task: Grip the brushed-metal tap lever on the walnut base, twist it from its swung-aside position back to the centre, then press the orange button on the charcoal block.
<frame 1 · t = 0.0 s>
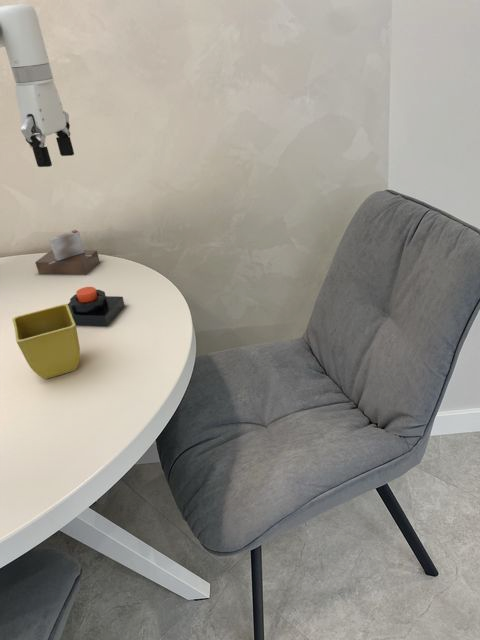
hand: (56, 160, 121), 23 cm above the table, tool pointing down, fingers open, 9 cm apart
flower pot: (59, 369, 90), on the table
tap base: (69, 268, 127), on the table
button block: (92, 315, 105), on the table
tap lever: (67, 245, 124), point 6 cm above the table, hinge at 50.0°
button: (87, 294, 103), point 4 cm above the table, slide at 0.1 cm
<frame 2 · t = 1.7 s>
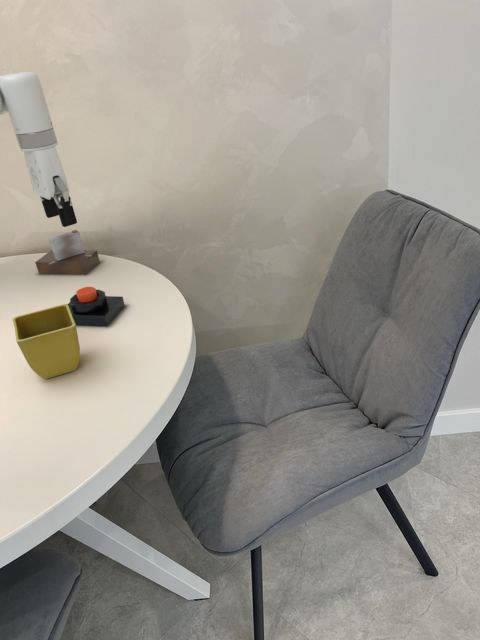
hand: (61, 220, 121), 11 cm above the table, tool pointing down, fingers open, 9 cm apart
nothing on the table moved.
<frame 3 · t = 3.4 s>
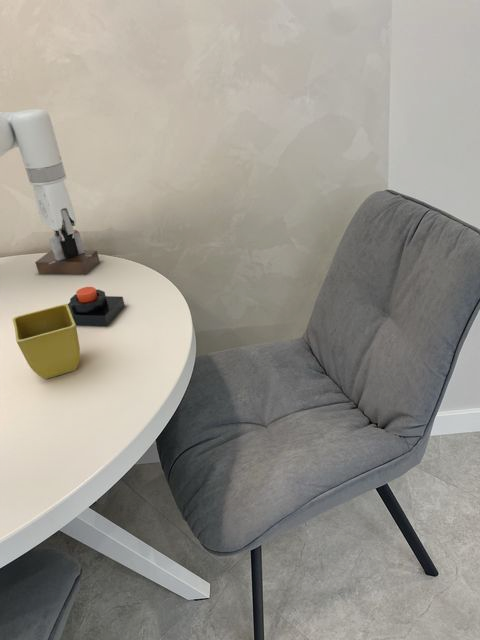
hand: (69, 254, 125), 3 cm above the table, tool pointing down, fingers closed on tap lever
tap lever: (67, 245, 124), point 6 cm above the table, hinge at 50.0°, touching gripper
everything else where it was.
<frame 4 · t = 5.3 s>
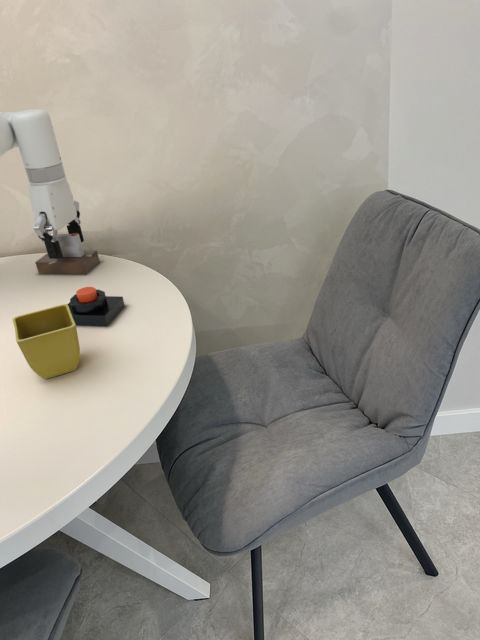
hand: (67, 249, 125), 5 cm above the table, tool pointing down, fingers open, 9 cm apart
tap lever: (67, 245, 124), point 6 cm above the table, hinge at 0.0°
everything else where it was.
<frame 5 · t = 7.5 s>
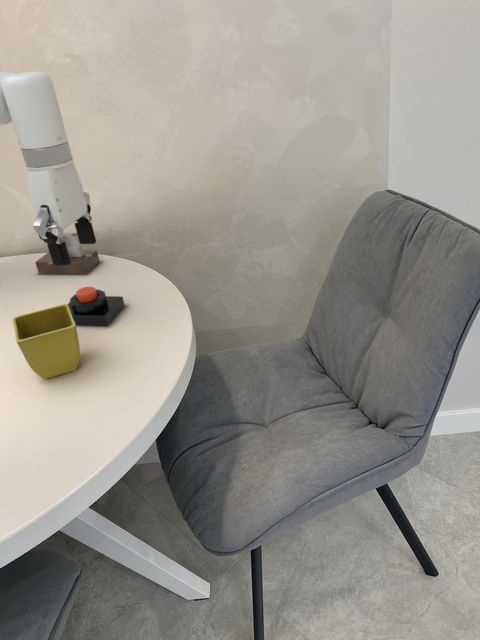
hand: (75, 253, 99), 13 cm above the table, tool pointing down, fingers open, 9 cm apart
nothing on the table moved.
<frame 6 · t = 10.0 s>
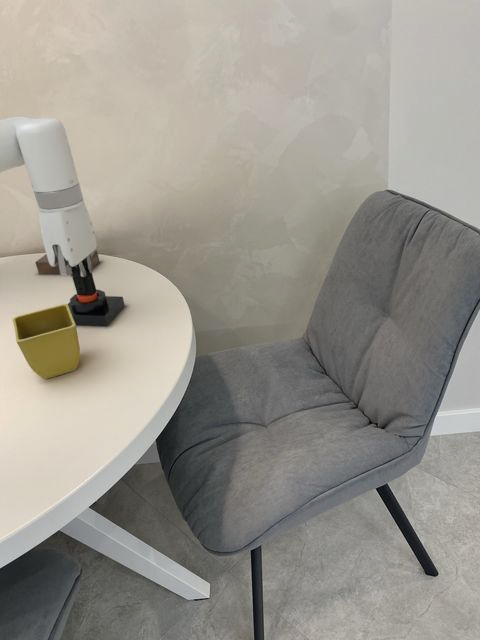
hand: (87, 293, 103), 5 cm above the table, tool pointing down, fingers closed
button: (87, 297, 103), point 4 cm above the table, slide at -0.5 cm, touching gripper
everything else where it was.
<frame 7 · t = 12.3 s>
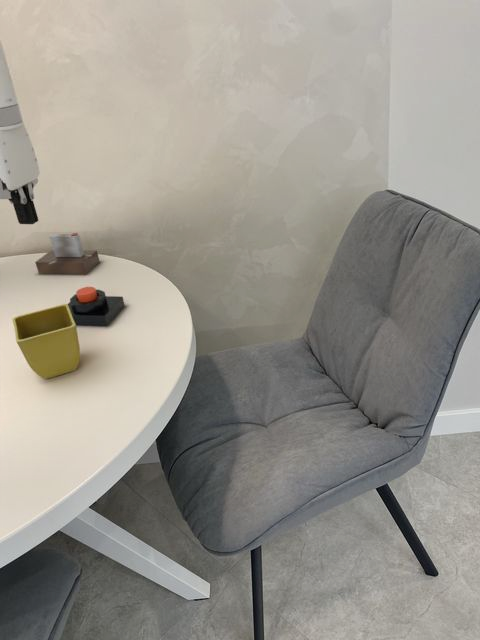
hand: (29, 222, 102), 17 cm above the table, tool pointing down, fingers closed
button: (87, 294, 103), point 4 cm above the table, slide at 0.1 cm
everything else where it was.
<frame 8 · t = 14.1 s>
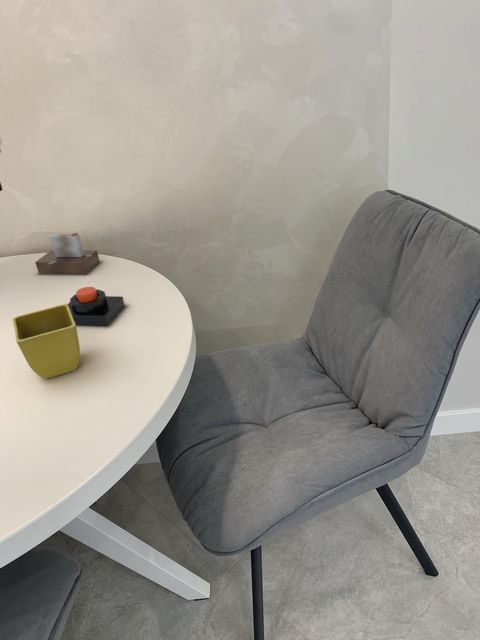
nothing on the table moved.
at the end: tap lever at +0° (first picture: +50°); button pushed in 1.1 cm at the most during the clip, back to where it started at the end; button slide at 0.1 cm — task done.
